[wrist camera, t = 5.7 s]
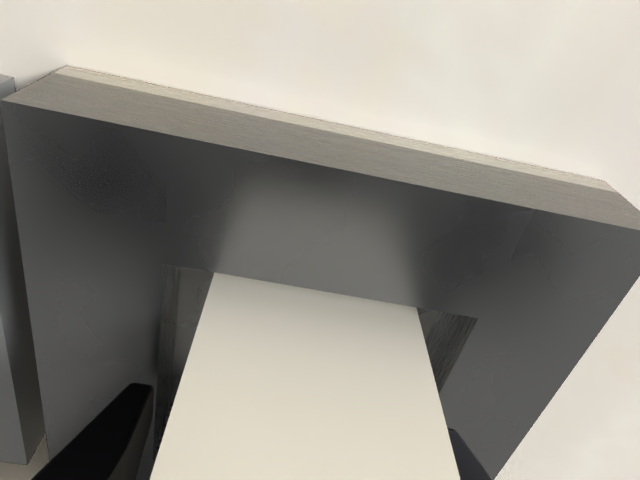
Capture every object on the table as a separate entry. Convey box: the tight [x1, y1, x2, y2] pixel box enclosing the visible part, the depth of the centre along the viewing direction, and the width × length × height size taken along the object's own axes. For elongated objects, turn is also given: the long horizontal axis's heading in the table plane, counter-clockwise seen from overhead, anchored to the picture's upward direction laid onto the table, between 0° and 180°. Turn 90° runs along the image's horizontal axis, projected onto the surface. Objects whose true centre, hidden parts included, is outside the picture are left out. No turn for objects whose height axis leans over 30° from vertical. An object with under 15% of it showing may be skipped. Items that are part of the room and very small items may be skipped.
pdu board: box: [1, 66, 640, 480], centre depth 13 cm, size 18×10×2 cm, turn 168°
